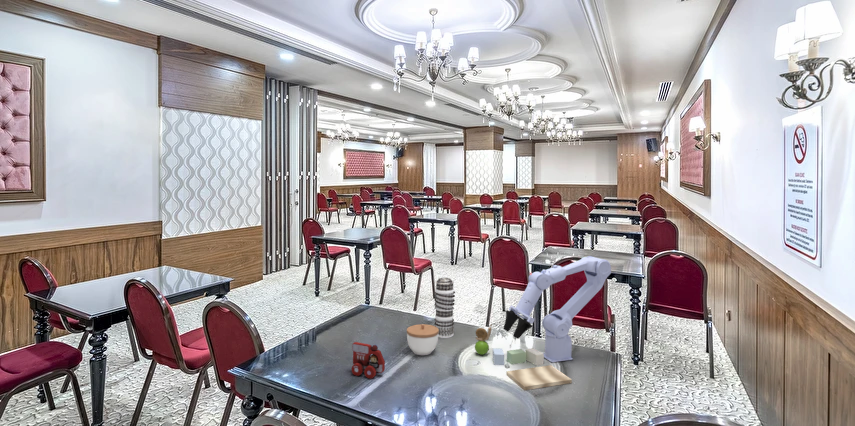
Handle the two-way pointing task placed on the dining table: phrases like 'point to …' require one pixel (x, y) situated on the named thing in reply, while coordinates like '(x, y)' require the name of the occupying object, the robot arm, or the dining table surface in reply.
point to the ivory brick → (534, 356)
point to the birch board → (538, 377)
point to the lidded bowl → (422, 338)
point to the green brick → (516, 356)
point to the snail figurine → (482, 340)
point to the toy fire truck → (367, 360)
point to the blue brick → (498, 356)
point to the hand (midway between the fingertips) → (510, 333)
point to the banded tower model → (444, 307)
